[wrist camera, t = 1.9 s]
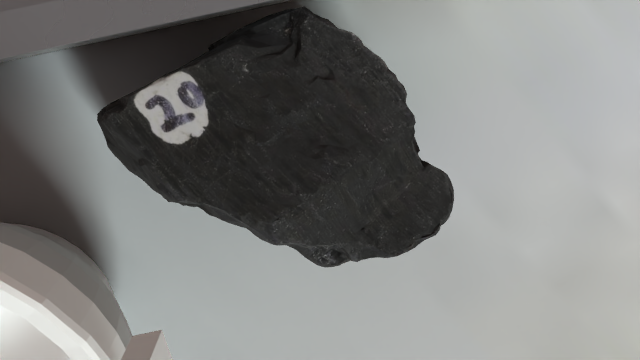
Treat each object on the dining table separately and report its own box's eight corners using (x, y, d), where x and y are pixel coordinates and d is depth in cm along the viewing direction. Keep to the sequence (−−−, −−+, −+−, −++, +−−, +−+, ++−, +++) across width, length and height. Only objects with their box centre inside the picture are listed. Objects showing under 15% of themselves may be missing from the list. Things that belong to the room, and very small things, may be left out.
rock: (512, 165, 18) (414, -17, 11) (403, 345, 18) (219, 291, 10) (318, 89, 25) (173, -56, 17) (236, 218, 25) (49, 128, 17)
